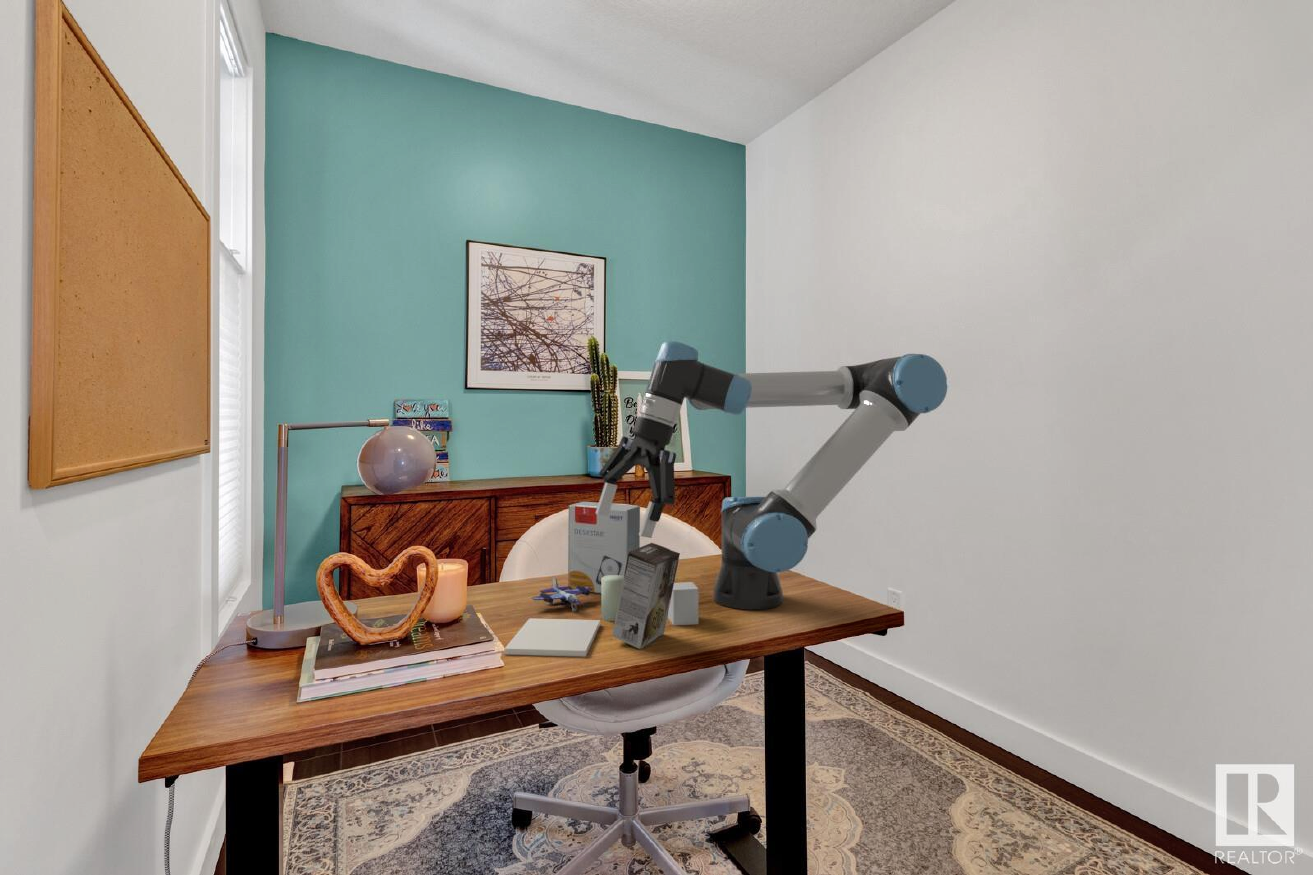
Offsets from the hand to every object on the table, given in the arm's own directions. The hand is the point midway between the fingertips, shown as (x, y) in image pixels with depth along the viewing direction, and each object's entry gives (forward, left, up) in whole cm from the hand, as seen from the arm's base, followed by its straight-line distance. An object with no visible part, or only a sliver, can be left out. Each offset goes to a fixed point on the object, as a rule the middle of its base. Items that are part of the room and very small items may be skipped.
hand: (622, 525), depth 122 cm
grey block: (-12, -4, -20) cm, 23 cm away
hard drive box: (+7, -25, -20) cm, 33 cm away
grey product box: (-4, +7, -19) cm, 21 cm away
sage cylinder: (+2, -5, -20) cm, 20 cm away
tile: (+11, +8, -20) cm, 24 cm away
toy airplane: (+13, -11, -20) cm, 26 cm away
